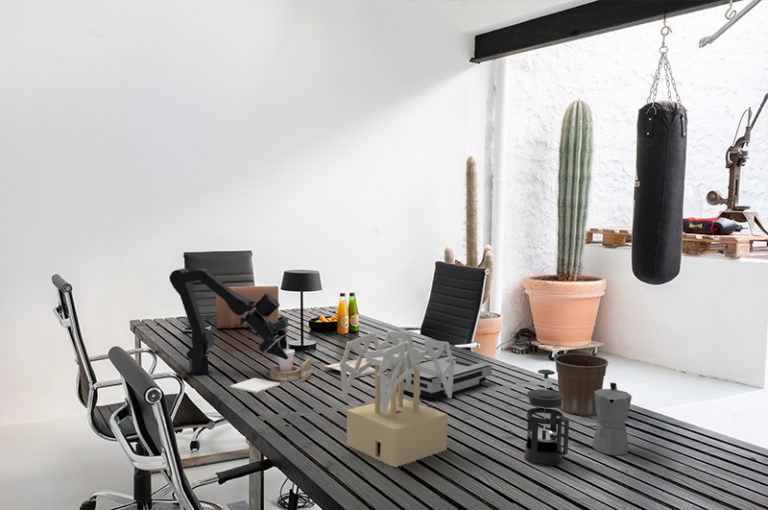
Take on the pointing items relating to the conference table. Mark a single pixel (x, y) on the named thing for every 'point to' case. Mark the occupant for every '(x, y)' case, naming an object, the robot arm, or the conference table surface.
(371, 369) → the newspaper
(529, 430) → the french press
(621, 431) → the coffeepot
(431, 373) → the kinetic sculpture
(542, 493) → the conference table surface
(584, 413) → the plant pot
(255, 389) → the coaster
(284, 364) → the smoothie
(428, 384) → the game console
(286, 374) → the segmented octagon frame
